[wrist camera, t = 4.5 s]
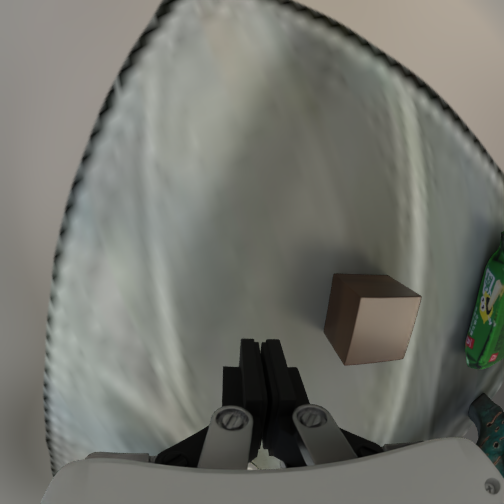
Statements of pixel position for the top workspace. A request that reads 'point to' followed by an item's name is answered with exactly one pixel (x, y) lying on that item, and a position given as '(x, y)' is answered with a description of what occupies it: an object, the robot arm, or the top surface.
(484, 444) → the ceramic cat
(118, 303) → the top surface
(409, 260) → the top surface
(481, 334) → the snack package
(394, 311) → the walnut block
